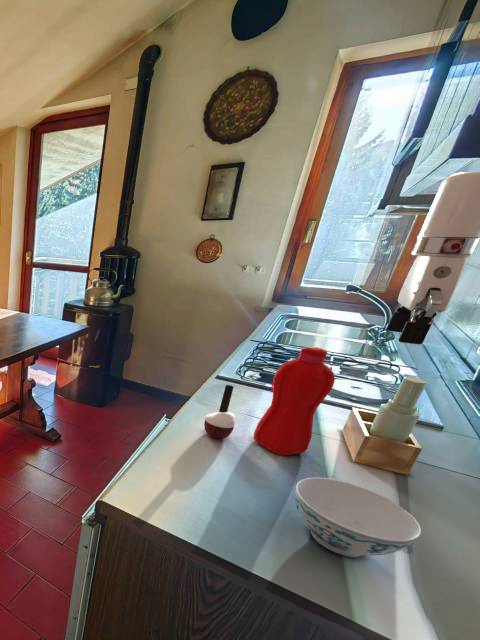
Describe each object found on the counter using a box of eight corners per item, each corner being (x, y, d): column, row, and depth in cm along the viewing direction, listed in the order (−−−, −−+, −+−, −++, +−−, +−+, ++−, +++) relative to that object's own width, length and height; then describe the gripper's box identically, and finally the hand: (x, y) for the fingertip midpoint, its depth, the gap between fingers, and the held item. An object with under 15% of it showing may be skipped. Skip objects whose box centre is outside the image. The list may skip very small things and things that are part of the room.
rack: (388, 441, 96) (401, 417, 94) (407, 475, 84) (422, 448, 81) (341, 431, 101) (352, 407, 98) (353, 461, 88) (365, 435, 86)
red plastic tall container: (270, 431, 101) (305, 338, 91) (312, 455, 91) (355, 353, 81) (239, 434, 99) (271, 340, 89) (278, 458, 89) (318, 356, 79)
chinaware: (426, 575, 60) (451, 537, 57) (337, 581, 59) (357, 543, 56) (335, 508, 74) (351, 475, 71) (261, 512, 73) (274, 479, 70)
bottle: (391, 454, 90) (431, 378, 82) (398, 466, 85) (441, 388, 78) (356, 446, 93) (392, 372, 85) (361, 457, 88) (399, 381, 81)
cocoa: (219, 445, 94) (233, 401, 89) (194, 434, 99) (206, 391, 94) (239, 435, 99) (253, 392, 94) (214, 424, 104) (226, 383, 99)
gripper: (496, 251, 63) (444, 351, 70) (456, 245, 76) (416, 330, 83) (429, 249, 67) (387, 344, 74) (402, 244, 80) (368, 325, 87)
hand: (402, 337), depth 78 cm, fingers open, 9 cm apart
